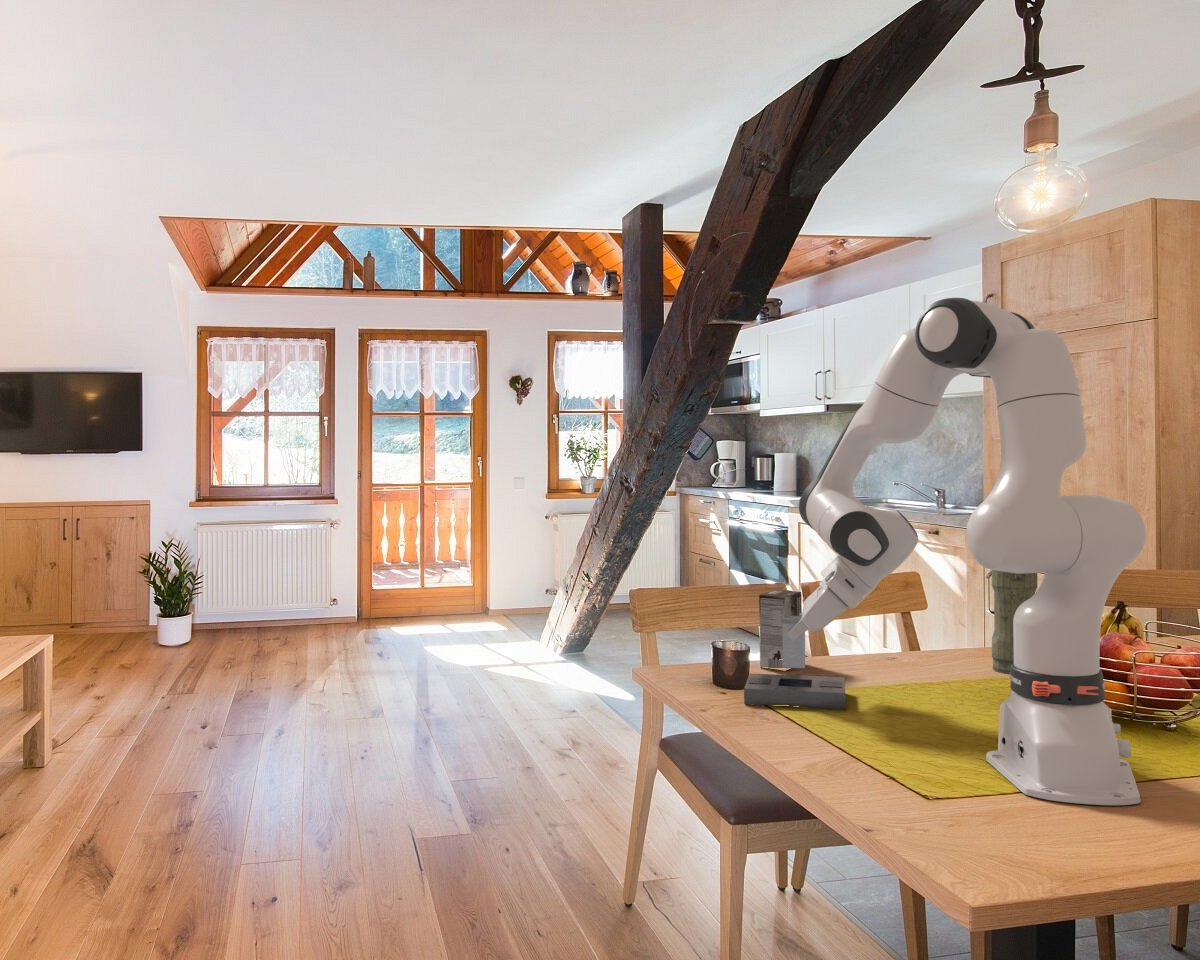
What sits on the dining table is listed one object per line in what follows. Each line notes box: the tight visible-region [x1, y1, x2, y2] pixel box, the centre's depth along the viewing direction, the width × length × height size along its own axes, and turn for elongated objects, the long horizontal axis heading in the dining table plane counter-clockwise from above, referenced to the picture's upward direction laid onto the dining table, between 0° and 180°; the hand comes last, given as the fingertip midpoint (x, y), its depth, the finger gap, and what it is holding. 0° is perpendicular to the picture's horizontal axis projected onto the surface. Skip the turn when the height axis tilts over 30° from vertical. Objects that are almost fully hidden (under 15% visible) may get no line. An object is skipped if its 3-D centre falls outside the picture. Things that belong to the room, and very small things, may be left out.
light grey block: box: [782, 615, 806, 669], centre depth 167 cm, size 4×4×9 cm
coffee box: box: [758, 589, 803, 668], centre depth 194 cm, size 9×6×16 cm
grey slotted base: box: [743, 673, 847, 711], centre depth 167 cm, size 12×18×3 cm, turn 76°
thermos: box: [990, 569, 1039, 675], centre depth 187 cm, size 9×12×35 cm
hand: (790, 634), depth 167 cm, fingers closed on light grey block, 4 cm apart
